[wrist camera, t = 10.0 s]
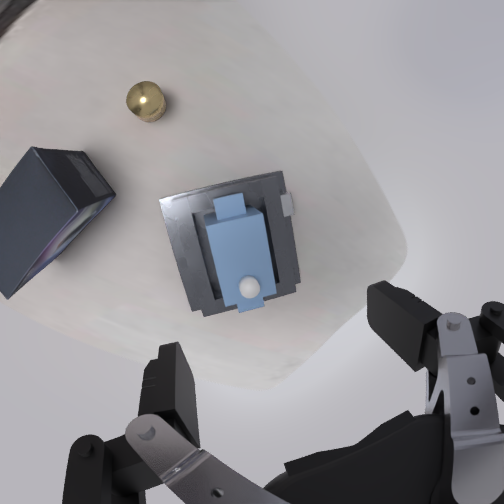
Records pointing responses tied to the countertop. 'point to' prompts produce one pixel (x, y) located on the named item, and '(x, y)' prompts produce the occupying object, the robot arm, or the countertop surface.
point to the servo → (240, 252)
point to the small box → (45, 211)
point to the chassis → (198, 247)
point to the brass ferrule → (146, 101)
